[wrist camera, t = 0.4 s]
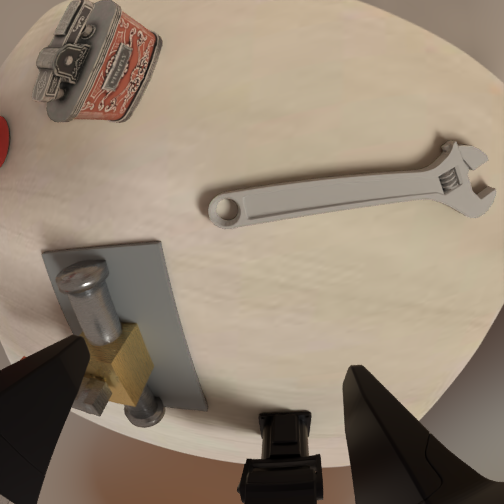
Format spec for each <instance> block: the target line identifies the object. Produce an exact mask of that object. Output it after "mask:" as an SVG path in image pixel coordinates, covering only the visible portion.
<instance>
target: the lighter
mask: <svg viewBox="0 0 504 504" xmlns="http://www.w3.org/2000/svg"><path fill="white" fill-rule="evenodd" d="M162 43H163V41H162V38H161V37H160V36H159V35H158V34H156V33H155V32H154V31H151V30H148V29H146V28H145V27H144V26H142V25H141V24H140V23H138V22H137V21H135V20H134V19H133V18H131V17H130V16H128V15H127V14H126V13H124V12H123V11H122V9H121V7H120V6H119V5H118V4H116V3H115V2H113V1H112V0H101V1H99V2H96V3H92V2H90V1H88V0H73V1H71V2H70V4H69V5H68V7H67V9H66V11H65V13H64V14H63V16H62V18H61V20H60V22H59V24H58V26H57V28H56V30H55V32H54V37H53V39H52V42H51V44H50V45H49V46H48V47H46V48H44V49H43V50H42V51H41V52H40V53H39V56H38V58H37V61H36V65H37V68H38V69H39V74H38V77H37V80H36V83H35V86H34V89H33V93H32V99H33V100H34V101H36V102H47V113H48V116H49V118H50V119H51V120H53V121H54V122H69V121H71V120H73V119H97V120H108V121H110V122H117V123H121V122H125V121H127V120H128V119H130V117H131V116H132V115H133V113H134V111H135V109H136V108H137V106H138V104H139V102H140V101H141V99H142V97H143V95H144V93H145V91H146V89H147V86H148V84H149V82H150V80H151V78H152V75H153V72H154V70H155V67H156V65H157V62H158V58H159V55H160V51H161V48H162Z"/></svg>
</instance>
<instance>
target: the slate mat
mask: <svg viewBox="0 0 504 504" xmlns="http://www.w3.org/2000/svg"><path fill="white" fill-rule="evenodd" d="M42 257H43V260H44V264H45V267H46V269H47V272H48V275H49V278H50V281H51V283H52V286H53V289H54V291H55V294H56V296H57V299H58V301H59V304H60V306H61V309H62V311H63V313H64V315H65V318H66V320H67V322H68V324H69V326H70V329H71V331H72V333H73V335H80V334H81V333H82V332H83V330H82V328H81V326H80V323H79V321H78V319H77V317H76V314H75V312H74V310H73V307H72V305H71V302H70V300H69V297H68V295H67V294H63V293H61V292H60V291H59V288H58V286H57V283H56V280H55V279H56V276H57V275H58V274H59V273H60V272H61V271H62V270H63V269H65V268H66V267H68V266H70V265H72V264H74V263H77V262H80V261H86V260H106V262H107V266H108V269H109V276H108V277H107V278H106V280H105V281H106V284H107V287H108V290H109V293H110V296H111V298H112V301H113V304H114V307H115V309H116V312H117V315H118V317H119V320H120V322H123V323H137V324H138V327H139V330H140V332H141V335H142V337H143V340H144V343H145V345H146V348H147V350H148V353H149V355H150V357H151V360H152V362H153V364H154V368H153V370H152V372H151V374H150V376H149V379H148V381H147V383H148V385H149V387H150V389H151V391H152V393H153V395H154V397H160V399H161V400H162V402H163V404H164V406H165V407H170V408H179V409H188V410H198V411H208V406H207V403H206V400H205V397H204V395H203V392H202V389H201V386H200V383H199V380H198V377H197V374H196V371H195V368H194V365H193V362H192V359H191V356H190V352H189V349H188V346H187V343H186V339H185V336H184V332H183V329H182V326H181V322H180V318H179V315H178V311H177V307H176V304H175V300H174V296H173V292H172V288H171V284H170V280H169V276H168V272H167V267H166V263H165V258H164V254H163V249H162V245H161V241H160V242H147V243H135V244H124V245H112V246H101V247H90V248H80V249H69V250H59V251H49V252H44V253H42Z"/></svg>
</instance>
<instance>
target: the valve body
mask: <svg viewBox="0 0 504 504" xmlns="http://www.w3.org/2000/svg"><path fill="white" fill-rule="evenodd" d="M108 276H109V269H108V266H107V262H106V260H86V261H80V262H77V263H74V264H72V265H70V266H68V267H66V268H65V269H63V270H62V271H61V272H60V273H59V274H58V275H57V276H56V279H55V280H56V283H57V286H58V288H59V291H60V292H61V293H63V294H67V295H68V297H69V300H70V302H71V305H72V307H73V310H74V312H75V314H76V317H77V319H78V321H79V323H80V326H81V328H82V330H83V332H82V333H81V334H80V335H79V336H82V337H83V338H84V339H85V342H86V344H87V347H88V349H89V352H90V361H89V363H88V366H87V369H86V372H85V374H84V377H86V378H96V379H98V380H99V381H104V382H106V383H107V385H108V387H109V388H110V390H111V391H112V395H111V397H110V399H109V401H111V402H115V403H120V404H124V406H125V407H124V412H125V415H126V417H127V418H128V419H129V421H130V422H131V423H132V424H133V425H135V426H137V427H144V428H145V427H151V426H153V425H155V424H157V423H158V422H160V421H161V419H162V418H163V416H164V414H165V406H164V404H163V402H162V400H161V399H160V397H154V395H153V393H152V391H151V389H150V387H149V385H148V383H147V381H148V379H149V376H150V374H151V372H152V370H153V368H154V364H153V362H152V360H151V357H150V355H149V353H148V350H147V348H146V345H145V343H144V340H143V337H142V335H141V332H140V330H139V327H138V324H137V323H123V322H120V320H119V317H118V315H117V312H116V309H115V307H114V304H113V301H112V298H111V296H110V293H109V290H108V287H107V284H106V281H105V280H106V278H107V277H108Z"/></svg>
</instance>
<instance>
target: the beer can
mask: <svg viewBox="0 0 504 504" xmlns="http://www.w3.org/2000/svg"><path fill="white" fill-rule="evenodd" d="M9 139H10V135H9V128H8V124H7V122H6V120H5V119H4V118H3V117H2V116H0V167H1V166H2V164H3V163H4V161H5V159H6V156H7V153H8V148H9Z"/></svg>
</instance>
